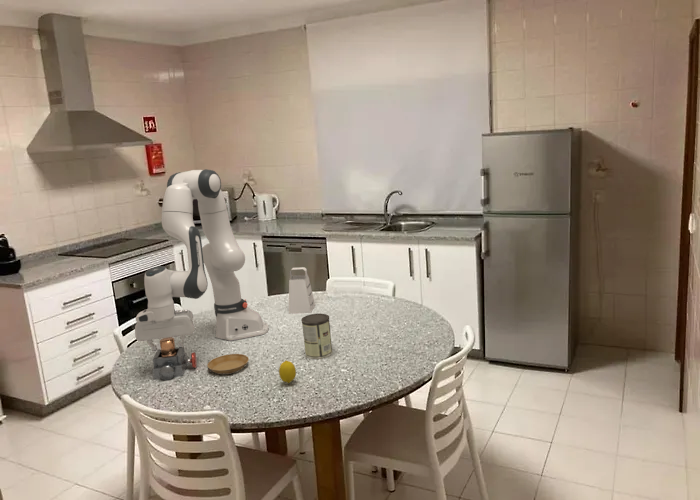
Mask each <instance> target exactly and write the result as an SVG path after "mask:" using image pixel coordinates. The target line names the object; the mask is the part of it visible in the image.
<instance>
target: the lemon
mask: <svg viewBox="0 0 700 500" xmlns="http://www.w3.org/2000/svg"><path fill="white" fill-rule="evenodd" d="M278 374H279V378H280V380H281V381H283V382H284V383H287V384H290V383H291V382H293V381H294V380H295V378H296V376H297V370H296V365H295V364H294V362H291V361H289V360H285V361H282V363H281V364H280V365H279V369H278Z"/></svg>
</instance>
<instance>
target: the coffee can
mask: <svg viewBox="0 0 700 500" xmlns="http://www.w3.org/2000/svg"><path fill="white" fill-rule="evenodd" d="M301 323H302V324H301V325H302V335H303V343H304V351H305V357H306V358H308V359H312V360H320V359H325V358H328V357H330V356H331V355H332V354H333V345H332V336H331V325H330V316H329V314H326V313H310V314H307V315H305V316H303V317H302V318H301Z"/></svg>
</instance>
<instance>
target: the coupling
mask: <svg viewBox="0 0 700 500" xmlns="http://www.w3.org/2000/svg"><path fill="white" fill-rule="evenodd" d="M159 345H160V349H161V354H162V357H166V356H174V355H176V349H175V348H176V342H175V337H170V338H162V339H159Z"/></svg>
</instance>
